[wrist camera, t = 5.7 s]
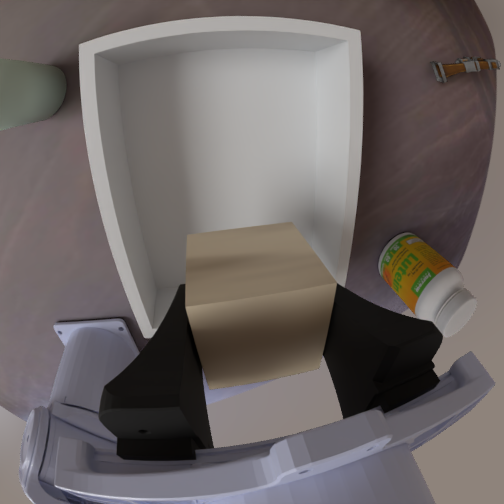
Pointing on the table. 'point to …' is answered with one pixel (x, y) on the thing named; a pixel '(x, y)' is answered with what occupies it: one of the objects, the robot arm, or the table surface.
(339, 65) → the tote
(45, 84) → the sage cylinder
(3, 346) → the table surface
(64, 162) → the table surface
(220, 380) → the maple cube
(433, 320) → the supplement bottle
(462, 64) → the wooden post with brackets
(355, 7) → the table surface
